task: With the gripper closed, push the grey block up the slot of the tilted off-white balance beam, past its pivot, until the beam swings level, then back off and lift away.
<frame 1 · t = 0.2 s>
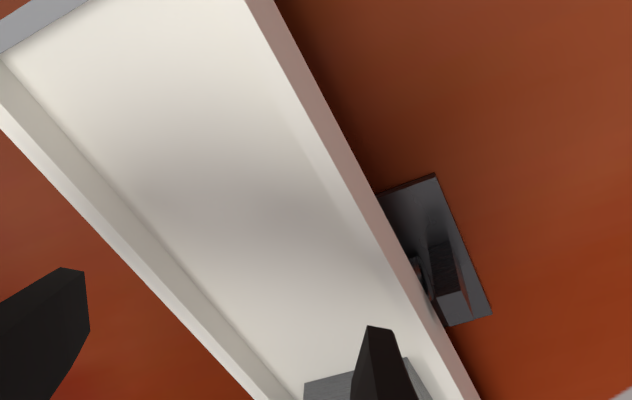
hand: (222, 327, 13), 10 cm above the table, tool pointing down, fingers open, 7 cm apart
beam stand: (344, 283, 24), on the table
beam: (318, 317, 20), point 4 cm above the table, hinge at -6.1°, touching grey block
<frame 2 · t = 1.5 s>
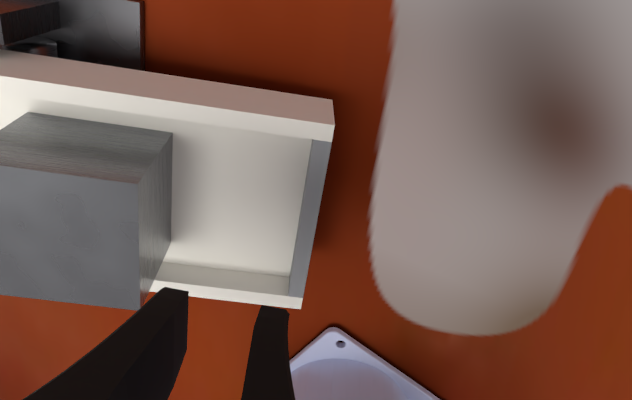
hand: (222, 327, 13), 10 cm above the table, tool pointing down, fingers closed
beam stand: (57, 127, 22), on the table
grey block: (104, 182, 19), point 4 cm above the table, tilted 6°, touching beam
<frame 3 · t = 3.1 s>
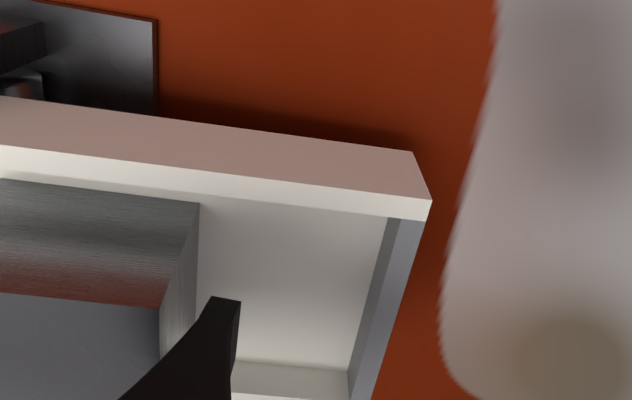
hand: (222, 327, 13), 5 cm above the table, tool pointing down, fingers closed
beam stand: (47, 177, 17), on the table
grey block: (107, 264, 14), point 4 cm above the table, tilted 6°, touching beam, gripper
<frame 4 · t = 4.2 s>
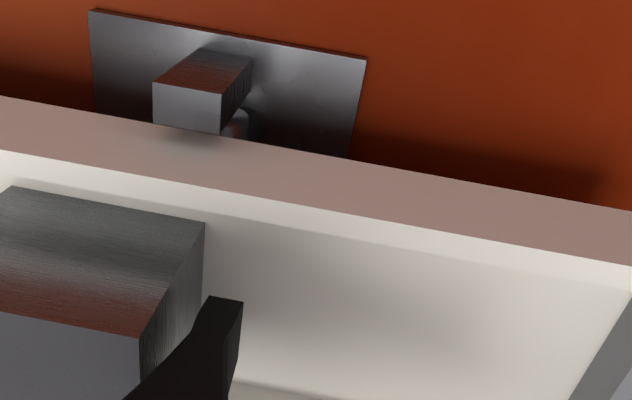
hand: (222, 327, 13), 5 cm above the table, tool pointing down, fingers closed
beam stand: (219, 208, 17), on the table
beam: (108, 270, 14), point 4 cm above the table, hinge at 0.3°, touching grey block
grey block: (113, 277, 14), point 4 cm above the table, touching beam, gripper
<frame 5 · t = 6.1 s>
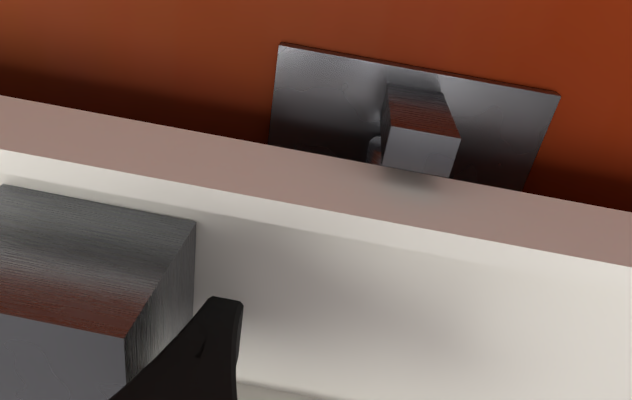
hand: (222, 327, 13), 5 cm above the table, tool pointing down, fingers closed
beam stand: (374, 237, 17), on the table
beam: (303, 306, 14), point 4 cm above the table, hinge at 0.3°, touching grey block
grey block: (105, 276, 14), point 4 cm above the table, touching beam, gripper
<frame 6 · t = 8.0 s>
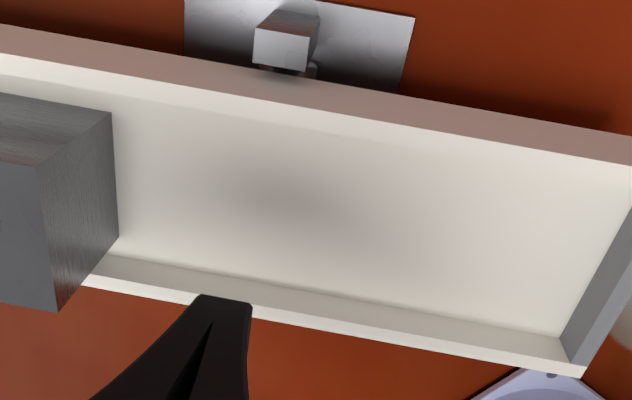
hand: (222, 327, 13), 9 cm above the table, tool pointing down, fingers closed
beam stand: (281, 151, 20), on the table
beam: (204, 190, 17), point 4 cm above the table, hinge at 0.3°, touching grey block
grey block: (43, 165, 17), point 4 cm above the table, touching beam
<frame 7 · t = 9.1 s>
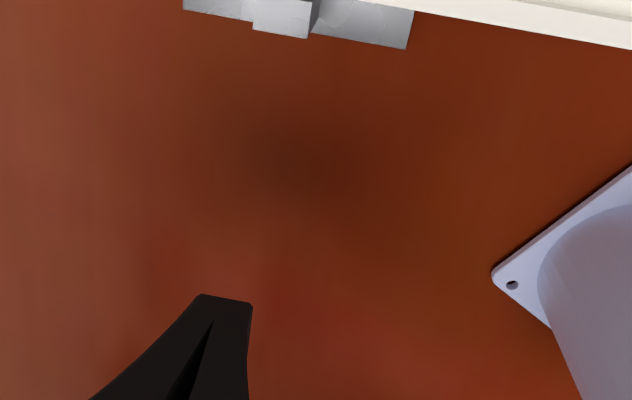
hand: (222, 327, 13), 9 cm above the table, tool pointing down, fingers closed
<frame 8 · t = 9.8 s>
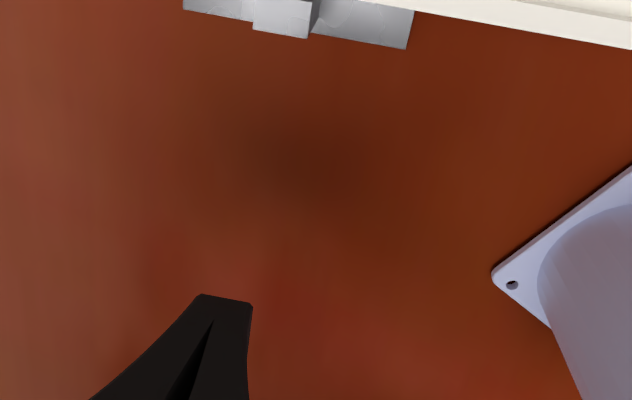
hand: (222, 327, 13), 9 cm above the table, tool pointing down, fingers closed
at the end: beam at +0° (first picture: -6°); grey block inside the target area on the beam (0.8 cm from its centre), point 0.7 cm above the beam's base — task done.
